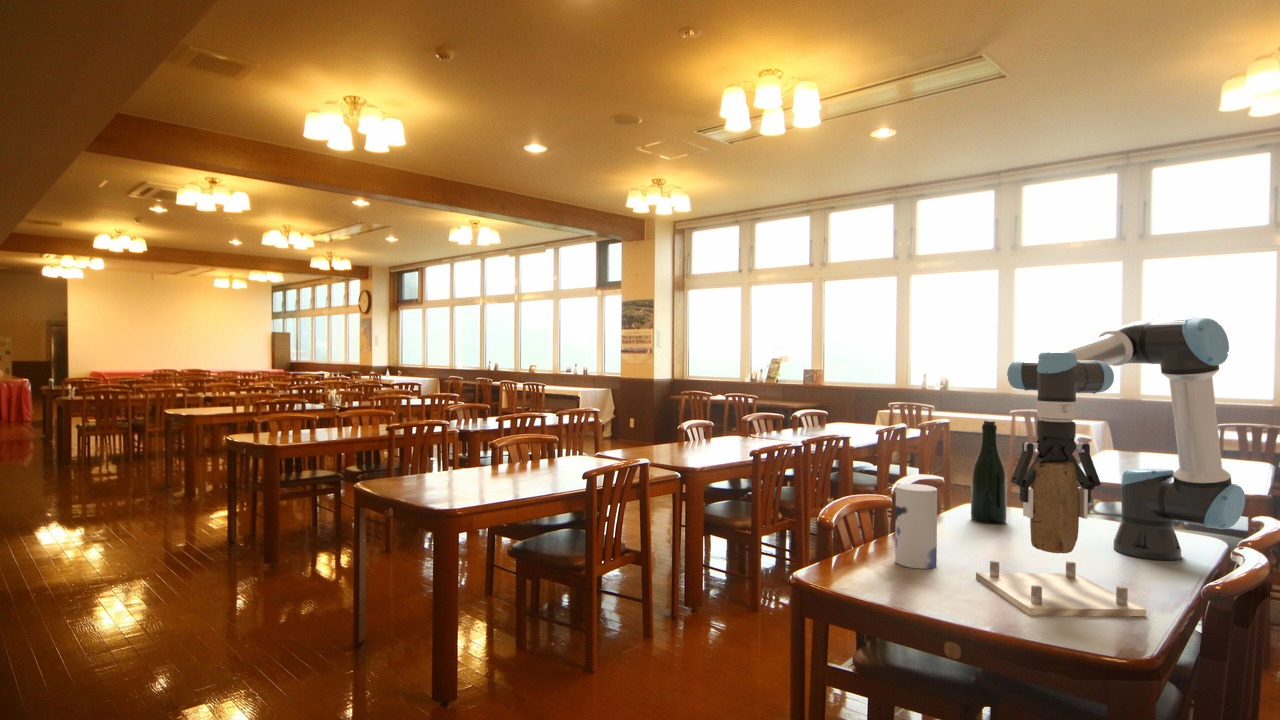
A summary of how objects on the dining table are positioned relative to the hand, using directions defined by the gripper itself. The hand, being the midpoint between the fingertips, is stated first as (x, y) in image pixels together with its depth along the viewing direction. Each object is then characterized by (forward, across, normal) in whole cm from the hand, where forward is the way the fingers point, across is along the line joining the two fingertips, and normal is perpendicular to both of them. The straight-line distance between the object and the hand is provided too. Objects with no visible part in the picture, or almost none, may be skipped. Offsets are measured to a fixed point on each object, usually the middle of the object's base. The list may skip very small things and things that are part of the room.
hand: (1054, 517), depth 157 cm
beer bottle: (+18, +20, +72) cm, 77 cm away
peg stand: (+18, 0, 0) cm, 18 cm away
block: (+7, 0, 0) cm, 7 cm away
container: (+18, -22, +24) cm, 37 cm away
